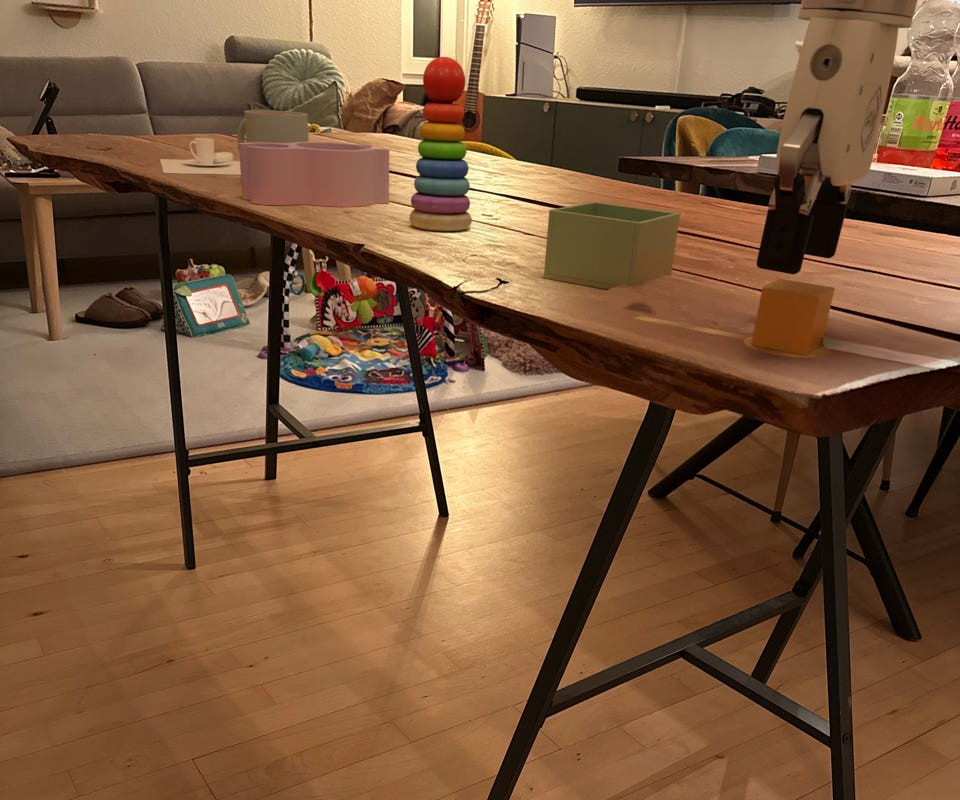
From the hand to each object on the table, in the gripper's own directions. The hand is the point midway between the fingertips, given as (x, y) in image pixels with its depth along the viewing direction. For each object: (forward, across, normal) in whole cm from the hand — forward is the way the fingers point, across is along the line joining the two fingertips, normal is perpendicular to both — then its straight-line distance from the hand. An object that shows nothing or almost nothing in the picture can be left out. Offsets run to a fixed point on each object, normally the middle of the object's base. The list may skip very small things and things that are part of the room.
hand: (796, 262), depth 75 cm
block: (+6, 0, -1) cm, 6 cm away
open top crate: (+7, +17, +23) cm, 30 cm away
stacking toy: (+8, +30, +53) cm, 62 cm away
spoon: (+7, 0, +4) cm, 8 cm away
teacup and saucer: (+10, +52, +113) cm, 125 cm away
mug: (+9, +42, +93) cm, 103 cm away
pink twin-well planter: (+9, +35, +78) cm, 86 cm away
